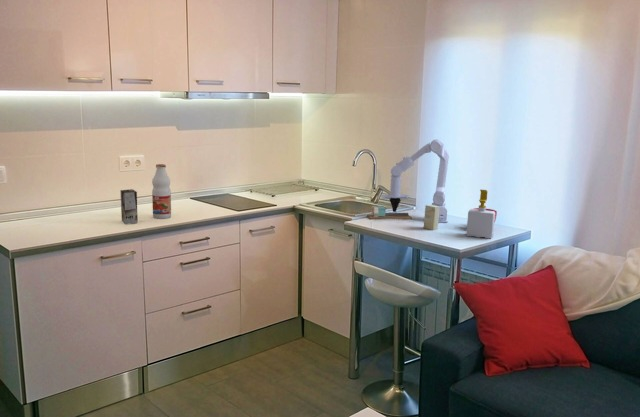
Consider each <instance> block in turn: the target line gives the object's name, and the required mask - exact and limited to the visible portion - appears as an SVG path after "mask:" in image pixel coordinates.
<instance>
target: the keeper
mask: <svg viewBox="0 0 640 417" xmlns="http://www.w3.org/2000/svg"><path fill="white" fill-rule="evenodd" d="M375 206H376V207H378V216H385V213H386V209H387V208H386V207H385V206H384V205H375Z"/></svg>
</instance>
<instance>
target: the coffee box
mask: <svg viewBox="0 0 640 417" xmlns="http://www.w3.org/2000/svg"><path fill="white" fill-rule="evenodd" d="M120 210H121V212H120V213H121V222H122V223H123V224H125V225H133V224H138V218H139V217H138V191H136V190H135V189H132V188H131V189H120Z"/></svg>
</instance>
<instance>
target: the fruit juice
mask: <svg viewBox="0 0 640 417" xmlns="http://www.w3.org/2000/svg"><path fill="white" fill-rule="evenodd" d="M155 168H156V171H155V173H154V176H153V178H152V179H151V180H152V181H151V183H152V184H151V185H152V187H153V188H152V191H151V194H152V195H151V196H152V199H151V200H152V202H151V203H152V217H153V219H158V220H159V219H160V220H162V219H163V220H164V219H170V218H171V217H172V191H171V188H170V186H171V179H170V177H169V176H168V174H167V171H166V168H167V166H166V164H164V163H163V164H162V163H161V164H160V163H159V164H155Z"/></svg>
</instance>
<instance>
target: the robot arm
mask: <svg viewBox="0 0 640 417" xmlns="http://www.w3.org/2000/svg"><path fill="white" fill-rule="evenodd" d="M431 152H433V153H434V154H435V155H437V156H438V158H439V167H438V173H437V174H438V175H437V181H436V188H435V192H434V193H433V195H432V203H431V205H435V206H440V209H439V219H438V223H448V222H449V221H448V220H447V216H448V210H447V208H446V203H445V201H446V196H445V195H446V194H445V187H446V181H447V175H448V174H447V173H448V166H449V159H450V155H449V152H448V150H447V149H446V146H445V144H444V143H443V142H442V141H441V140H439V139H433V140H432V141H431V142H428V143H426V144H425V145H423V146H422V147H421V148H419V149H418V150H417V151H416V152H414V154H411V156H406V157H405V156H404V157H403V158H402V160H400V161H399V162H397V163H396V164H395V165H393V166H392V168H391V169H390V174H391V175H390V187H389V188H390V189H389V194H382V195H381V199H382V200H386V199H387V200H389V202H390V204H391V205H390V206H391V207H392V208H391V209H392V213H397V210H398V206H399V205H400V203H401V200H402V199H406V200H408V199H409V195H408V194H401V193H402V192H401V191H402V173H404V172H406V171H407V170H408V169H409V168H411V167H412V166H413V165H414V162H415V161H417V159H420V158H421V157H422V156H424V155H425V154H428V153H431Z"/></svg>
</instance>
